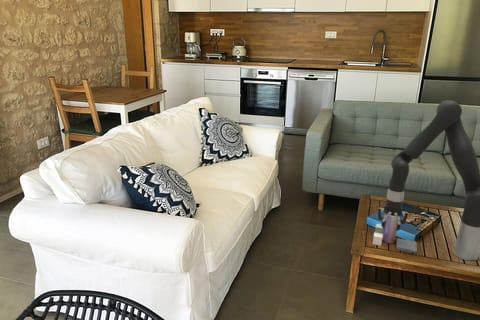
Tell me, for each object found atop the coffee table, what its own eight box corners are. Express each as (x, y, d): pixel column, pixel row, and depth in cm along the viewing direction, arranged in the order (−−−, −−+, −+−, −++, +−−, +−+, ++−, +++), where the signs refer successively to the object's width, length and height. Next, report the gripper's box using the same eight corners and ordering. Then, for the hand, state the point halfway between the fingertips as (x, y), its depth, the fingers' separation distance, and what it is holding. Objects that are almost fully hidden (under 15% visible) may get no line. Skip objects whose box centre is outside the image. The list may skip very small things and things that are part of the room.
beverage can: (381, 241, 193) (385, 214, 188) (383, 236, 198) (387, 209, 193) (394, 244, 190) (398, 217, 185) (395, 239, 195) (400, 212, 190)
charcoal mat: (416, 243, 192) (416, 241, 191) (416, 253, 184) (417, 251, 183) (396, 240, 195) (396, 238, 194) (396, 249, 187) (396, 247, 186)
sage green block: (383, 232, 202) (384, 225, 200) (383, 236, 198) (384, 228, 197) (375, 231, 203) (376, 223, 202) (374, 234, 200) (375, 227, 198)
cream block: (381, 241, 193) (382, 233, 192) (381, 245, 190) (382, 237, 188) (373, 240, 194) (374, 232, 193) (372, 244, 191) (373, 236, 189)
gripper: (411, 197, 187) (405, 228, 193) (379, 192, 192) (375, 222, 198) (411, 203, 181) (405, 235, 186) (378, 198, 186) (374, 229, 191)
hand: (390, 228), depth 192 cm, fingers closed on beverage can, 6 cm apart
